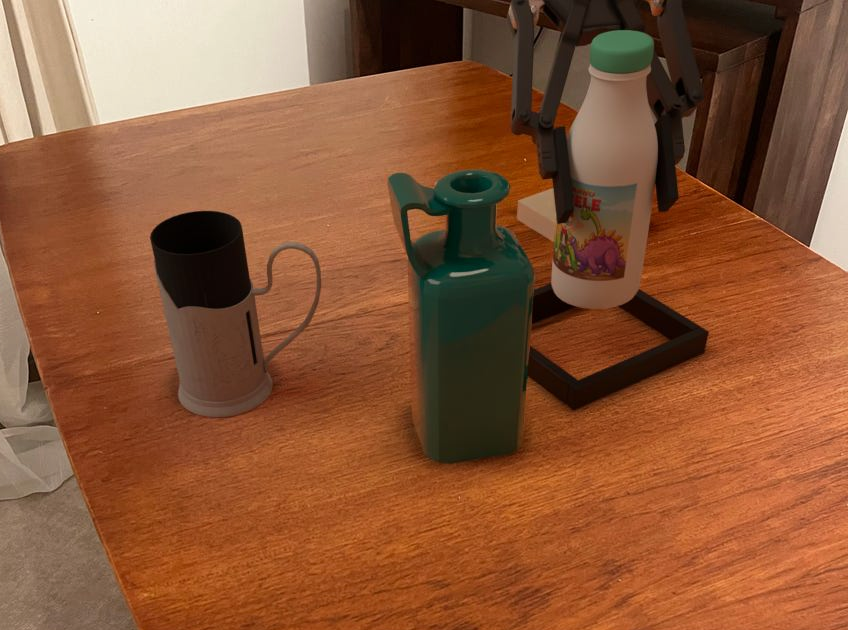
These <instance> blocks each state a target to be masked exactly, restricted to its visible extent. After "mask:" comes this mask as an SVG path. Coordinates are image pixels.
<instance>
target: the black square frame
mask: <svg viewBox="0 0 848 630" xmlns="http://www.w3.org/2000/svg"><path fill="white" fill-rule="evenodd" d="M576 307H577V306H573V305H571V304H568V303H566V302H564V301H562V300H561V299H560V298H559V297H557V295H556V294H555V293H554V290H553V288H552V284H551V282H550V283H547V284H545V285H542V286H540V287H537V288H534V298H533V312H532V325H533V324H536V323H538V322H541V321H544V320H545V319H548V318H551V317H553V316H556V315H558V314H562V313H563V312H565V311H569V310H571V309H573V308H576ZM618 307H619V308H620V309H622V310H623V311H624V312H626V313H628V314H629V315H631V316H632V317H634V318H636V319H637V320H639V321H641V322H642V323H644V324H645V325H647V326H649V327H650V328H652V329H653V330H655V331H656V332H658V333H660V334H661V335H663V336H664V337H666V339H669V340H668V341H665V342H663V343H661V344H658V345H656V346H654V347H651V348H649V349H647V350H645V351H643V352H640V353H637V354H635V355H633V356H631V357H628V358H626V359H624V360H622V361H619V362H617V363H614V364H612V365H610V366H608V367H605V368H603V369H601V370H598V371H595V372H593V373H592V374H588V375H587V376H584V377H582V378H579V379H577V377H574V376H573V375H572V374H570V372H567V371H566V370H565V369H564V368H562V367H561V366H559V365H558V364H557V363H555V362H554V361H553V360H551V359H550V358H549V357H547V356H545V354H543V353H541V352H540V351H538V349H536V348H534V347H533V346H531V345H530V353H529V367H528V378H531V380H533V381H534V382H536V384H538V385H539V386H541V387H542V388H544V389H545V390H546V391H548V392H549V393H550V394H551V395H552V396H553V397H555V398H557V399H558V400H559V401H560V402H561V403H563V404H564V405H566V406H567V407H569V408H570V409H571V410H572V411H576V410H578V409H581V408H583V407H585V406H587V405H590V404H592V403H595V402H596V401H599V400H601V399H603V398H605V397H608V396H610V395H613V394H615V393H617V392H619V391H621V390H624V389H626V388H628V387H631V386H632V385H635V384H637V383H639V382H642V381H644V380H646V379H648V378H651V377H653V376H655V375H657V374H660V373H662V372H665V371H666V370H669V369H671V368H673V367H675V366H678V365H680V364H682V363H685V362H687V361H689V360H691V359H694V358H696V357H698V356H701V355H702V354H704V353H705V352H706V347H707V342H708V339H709V334H710V331H709V330H707V329H705V328H704V327H702V326H700V325H699V324H697V323H696V322H694V321H693V320H691V319H690V318H688V317H686V316H684V315H683V314H681V313H679V312H678V311H676V310H675V309H673V308H671V307H670V306H668V305H667V304H665V303H663V302H661V300H658V299H657V298H655V297H653V296H651V295H650V294H648V293H647V292H645V291H643V290H642V289H640V288H639V290H638V291H637V293H636V294H635V296H634V297H633V298H632V299H631V300H630V301H628V302H626V303H624V304H622V305H619V306H618Z"/></svg>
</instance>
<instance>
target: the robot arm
mask: <svg viewBox="0 0 848 630" xmlns="http://www.w3.org/2000/svg"><path fill="white" fill-rule="evenodd" d="M645 1H646V2H648V4H649V6H650V10H651V15H652V16H653V17H657V18H656V19H657V20H656V23H657V31H658V35H659V39H660V42H661V47H662V50H663V54H664V58H665V63H666V66H667V70H668V73H667V71H666V69H665V68H664V67H665V66H664V65H663V64H662V63H663V62H661V60H660V57H659V56H658V54H657V52H656V50H655V49H654V51H653V58H652V62H651V65H650V67H651V71H650V73H649V74H648V75H647V78H646V90H647V98H648V104H649V108H650V111H652V112H651V113H653V115H654V117H655V119H656V121H655V122H654V125H655V129H656V134H657V141H658V162H657V171H656V181H655V193H656V202H657V212H658V213H664V212H665V213H666V212H669V210H670V209H671V208H672V207H673V206H674V205H675V204H676V202H677V201H679V187H678V179H677V178H678V177H677V168H676V167H677V165H679V163H680V162H681V161H682V160H683V158H684V156H685V152H686V146H685V145H686V144H685V137H684V127H683V118H688V117H691V116H692V115H693V113H694V112H695V111H696V110H697V108H698V107H699V105H700V104H701V103H702V101H704V98H705V91H704V86H703V83H702V79H701V74H700V71H699V68H698V64H697V60H696V55H695V52H694V48H693V44H692V39H691V36H690V33H689V28H688V25H687V21H686V20H687V19H686V16H685V13H684V9H683V0H645ZM642 2H643V0H511V1H510V5H509V8H508V11H507V15H506V20H507V23H508V26H509V29H510V33H511V36H512V39H513V47H512V48H513V49H512V50H513V51H512V52H513V53H512V79H511V80H512V81H511V104H510V105H511V106H510V131H511V133H512V134H513V135H515V136H522V135H525V136H529V137H531V141H532V143H533V144H534V145H535V146H536V147H535V148H536V155H537V164H538V165H537V166H538V171H539V173H538V174H539V175H540V177H541V179H542V180H551V179H552V180H551V181H552V188H553V190H554V199H555V208H556V217H557V224H561V223H567V221H568V220H569V218H570V216H571V215H572V213H573V212H574V203H573V194H572V185H571V176H570V167H569V158H568V149H567V131H566V126H565V125H562V126H555V122H556V118H557V114H558V111H559V108H560V104H561V100H562V97H563V93H564V90H565V86H566V82H567V78H568V75H569V73H570V72H569V71H570V69H571V64H572V61H573V57H574V53H575V50H576V47H577V48H578V47H585V46H589V45H591V43H592V40H593V39H594V38H595V37H596V36H598V35H600V34H602V33H605V32H609V31H617V30H631V31H638V32H642V33H645V34H647V33H646V31H645V30H646V29H645V28H646V26H645V22H644V20H643V18H642V16H641V14H640V12H639V10H638V9H639V7H640V6H641V4H642ZM540 12H542V13H543V14H544V15H545V16H546V17H547V19H548V20H549V21H550V22H551V23H552V24H553V26H555V28H556V29H557V30H558V31H559V32H560V34H559V37H558V41H557V45H556V48H555V52H554V55H553V60H552V64H551V68H550V71H549V75H548V79H547V81H546V82H547V83H546V86H545V90H544V93H543V97H542V100H541V104H540V107H539V111H538V112H537V111H533V110H532V107H533V106H532V105H533V104H532V103H533V79H534V78H533V76H534V75H533V74H534V53H535V52H534V50H535V49H534V48H535V27H536V26H537V24H538V21H539V18H540Z"/></svg>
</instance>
